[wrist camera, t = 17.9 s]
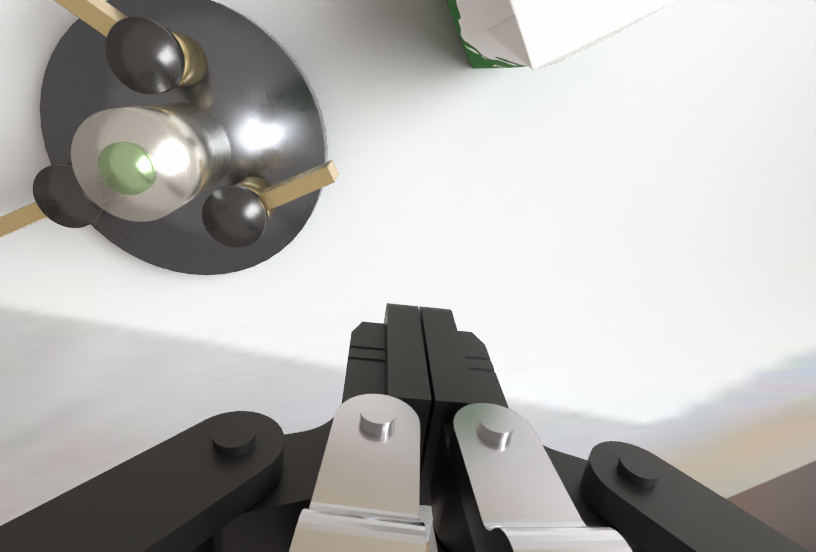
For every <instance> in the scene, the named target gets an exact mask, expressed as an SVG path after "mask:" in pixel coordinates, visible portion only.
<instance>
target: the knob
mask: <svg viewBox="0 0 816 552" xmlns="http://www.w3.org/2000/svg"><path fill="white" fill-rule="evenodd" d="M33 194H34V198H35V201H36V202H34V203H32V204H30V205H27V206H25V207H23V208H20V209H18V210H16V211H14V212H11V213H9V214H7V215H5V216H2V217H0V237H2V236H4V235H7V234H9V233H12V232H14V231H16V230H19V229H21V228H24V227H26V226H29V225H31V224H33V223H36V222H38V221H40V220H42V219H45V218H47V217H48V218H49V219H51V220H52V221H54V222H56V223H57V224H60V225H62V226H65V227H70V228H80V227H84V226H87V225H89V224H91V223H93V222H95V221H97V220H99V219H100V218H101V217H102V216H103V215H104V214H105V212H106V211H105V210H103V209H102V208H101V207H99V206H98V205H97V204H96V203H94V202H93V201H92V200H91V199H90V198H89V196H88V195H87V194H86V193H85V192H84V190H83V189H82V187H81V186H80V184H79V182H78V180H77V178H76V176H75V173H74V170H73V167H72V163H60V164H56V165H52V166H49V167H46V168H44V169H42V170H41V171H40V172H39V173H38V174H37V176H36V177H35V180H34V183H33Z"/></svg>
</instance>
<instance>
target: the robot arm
mask: <svg viewBox="0 0 816 552" xmlns="http://www.w3.org/2000/svg"><path fill="white" fill-rule="evenodd" d="M419 505H430V506H432V514H433V522H432V527H431V531H430V536H429V551H430V552H810V551H808V550H807V549H805V548H803V547H802V546H800V545H799V544H797V543H795V542H794V541H792V540H790V539H789V538H787V537H786V536H784V535H782V534H781V533H779V532H778V531H776V530H774V529H773V528H771V527H769V526H768V525H766V524H765V523H763V522H762V521H760V520H758V519H757V518H755V517H754V516H752V515H750V514H749V513H747V512H745V511H744V510H742V509H741V508H739V507H737V506H736V505H734V504H733V503H731V502H729V501H728V500H726V499H725V498H723V497H721V496H720V495H718V494H717V493H715V492H713V491H712V490H710V489H709V488H707V487H705V486H704V485H702V484H700V483H699V482H697V481H696V480H694V479H692V478H691V477H689V476H688V475H686V474H684V473H683V472H681V471H680V470H678V469H676V468H675V467H673V466H672V465H670V464H668V463H667V462H665V461H664V460H662V459H660V458H659V457H657V456H656V455H654V454H652V453H650V452H648V451H646V450H644V449H642V448H640V447H637V446H634V445H632V444H628V443H623V442H616V441H609V442H603V443H600V444H598V445H596V446H595V447H594V448H593V449H592V451H591V453H590V456H589V458H588V460H584V459H581V458H578V457H575V456H571V455H568V454H565V453H562V452H558V451H555V450H553V449H550V448H548V447H545V446H543V445H542V443H541V441H540V440H539V438H538V436H537V434H536V432H535V430H534V429H533V427H532V426H531V424H530V423H529V422H528V421H527V420H526V419H525V418H523V417H522V416H521V415H519V414H518V413H516V412H514V411H512V410H510V409H509V408H508V405H507V402H506V400H505V397H504V395H503V392H502V389H501V387H500V384H499V381H498V379H497V376H496V373H495V372H494V368H493V365H492V363H491V361H490V357H489V355H488V352H487V349H486V347H485V344H484V343H482V342H481V341H480V340H479V339H478V338H477V337H476V336H475V335H474V334H473V333H472V332H464V331H457V328H456V324H455V321H454V317H453V314H452V311H451V310H449V309H439V308H429V307H419V309H418V306H409V305H399V304H389V303H387V305H386V311H385V319H384V324H380V323H370V322H362V323H361V324H360V325H359V326H358V327H357V328H355V329H354V330H353V331H352V333H351V341H350V348H349V355H348V362H347V370H346V377H345V384H344V391H343V399H342V404H341V405H340V406H339V408H338V409H337V411H336V413H335V416H334V417H333V418H332V419H331V420H330V421H329V422H327V423H325V424H324V425H322V426H320V427H318V428H315V429H312V430H308V431H304V432H298V433H292V434H286V435H284V433H283V431H282V429H281V427H280V426H279V425H278V423H276V422H275V421H274V420H273V419H271V418H269V417H268V416H265V415H263V414H260V413H255V412H248V411H235V412H228V413H223V414H219V415H216V416H213V417H211V418H209V419H206V420H204V421H202V422H201V423H199V424H197V425H195V426H193V427H191V428H189V429H187V430H185V431H183V432H181V433H179V434H177V435H175V436H174V437H172V438H170V439H168V440H166V441H164V442H162V443H160V444H158V445H156V446H154V447H152V448H150V449H148V450H146V451H145V452H143V453H141V454H139V455H137V456H135V457H133V458H131V459H129V460H127V461H125V462H123V463H121V464H119V465H118V466H116V467H114V468H112V469H110V470H108V471H106V472H104V473H102V474H100V475H98V476H96V477H94V478H92V479H91V480H89V481H87V482H85V483H83V484H81V485H79V486H77V487H75V488H73V489H71V490H69V491H67V492H65V493H63V494H62V495H60V496H58V497H56V498H54V499H52V500H50V501H48V502H46V503H44V504H42V505H40V506H38V507H36V508H35V509H33V510H31V511H29V512H27V513H25V514H23V515H21V516H19V517H17V518H15V519H13V520H11V521H9V522H8V523H6V524H4V525H2V526H0V552H426V531H425V525H424V523H422V522H419Z"/></svg>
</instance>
